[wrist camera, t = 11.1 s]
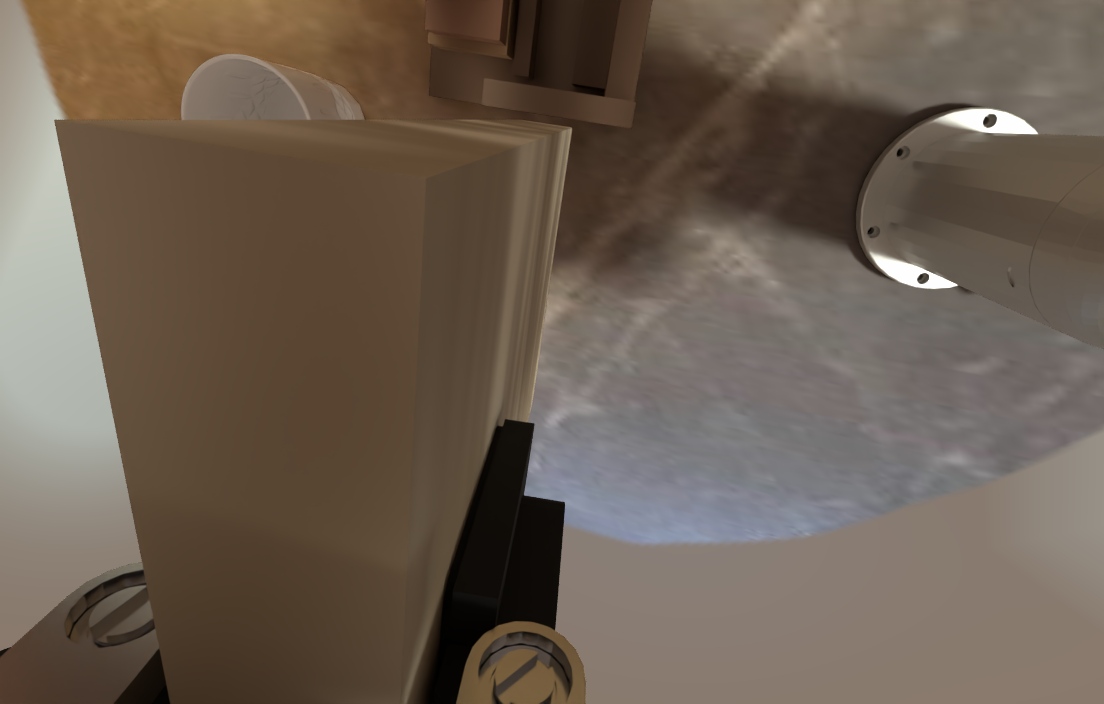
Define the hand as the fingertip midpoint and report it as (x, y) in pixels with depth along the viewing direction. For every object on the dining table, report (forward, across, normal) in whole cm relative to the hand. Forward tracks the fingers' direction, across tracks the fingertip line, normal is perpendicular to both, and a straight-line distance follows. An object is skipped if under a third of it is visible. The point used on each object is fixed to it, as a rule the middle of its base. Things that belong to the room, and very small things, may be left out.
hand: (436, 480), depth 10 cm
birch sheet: (+15, 0, 0) cm, 15 cm away
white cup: (+35, +18, -3) cm, 40 cm away
